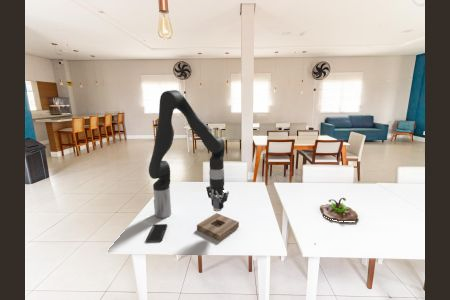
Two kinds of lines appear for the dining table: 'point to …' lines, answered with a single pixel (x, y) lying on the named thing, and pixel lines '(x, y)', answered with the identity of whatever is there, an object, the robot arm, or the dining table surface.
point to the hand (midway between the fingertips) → (217, 207)
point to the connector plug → (216, 204)
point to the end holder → (215, 232)
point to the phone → (157, 233)
